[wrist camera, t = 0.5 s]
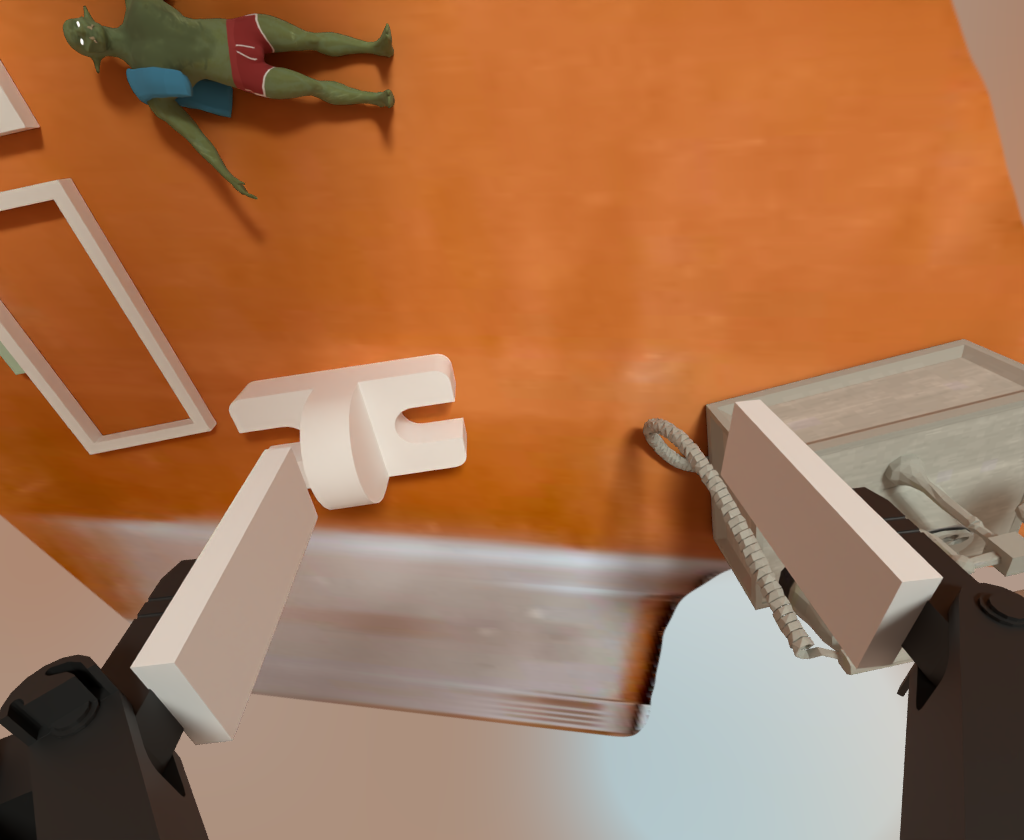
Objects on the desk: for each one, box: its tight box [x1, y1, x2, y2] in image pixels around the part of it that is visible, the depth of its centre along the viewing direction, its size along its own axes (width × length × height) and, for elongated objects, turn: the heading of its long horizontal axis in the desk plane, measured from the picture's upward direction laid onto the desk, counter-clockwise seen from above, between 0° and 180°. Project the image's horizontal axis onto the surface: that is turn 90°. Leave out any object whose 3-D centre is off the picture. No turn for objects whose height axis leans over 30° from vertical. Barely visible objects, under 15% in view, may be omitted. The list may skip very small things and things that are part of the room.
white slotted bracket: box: [229, 354, 467, 510], centre depth 40 cm, size 10×18×10 cm, turn 98°
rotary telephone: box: [643, 339, 1024, 675], centre depth 39 cm, size 32×20×25 cm, turn 105°
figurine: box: [63, 0, 395, 199], centre depth 29 cm, size 16×4×18 cm
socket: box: [0, 178, 217, 455], centre depth 38 cm, size 20×12×1 cm, turn 11°
